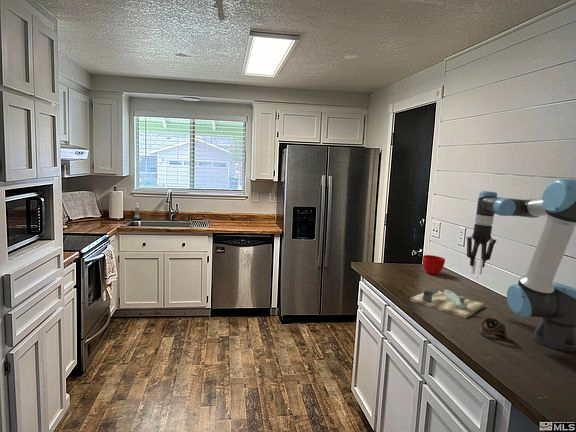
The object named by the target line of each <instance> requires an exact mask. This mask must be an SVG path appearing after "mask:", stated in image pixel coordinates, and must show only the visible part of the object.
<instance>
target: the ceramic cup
mask: <svg viewBox="0 0 576 432" xmlns="http://www.w3.org/2000/svg"><path fill="white" fill-rule="evenodd" d="M445 262H446V259H445V258H444V257H442V256H437V255H430V254H424V255H423V256H422V267H423V269H424V271H425V273H427V274H429V275H432V276H433V275H438V274H439V273H440V272H442V271H443V269H444V267H445Z"/></svg>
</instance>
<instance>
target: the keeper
mask: <svg viewBox="0 0 576 432" xmlns="http://www.w3.org/2000/svg"><path fill="white" fill-rule="evenodd" d="M438 291H440V290H439V289H438V288H434V287H431V288H428V289H427V290H424V291H423V292H424V295H423V301H426V302H431V301H432V295H434V294H436V293H438Z"/></svg>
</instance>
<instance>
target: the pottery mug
mask: <svg viewBox="0 0 576 432" xmlns="http://www.w3.org/2000/svg"><path fill="white" fill-rule="evenodd" d="M484 324H486V326H484ZM479 333H480V335H483V334H484V335H487V336H490V335H492V336H494V335H498V336H500V335H502V336H503V337H504V338H505V339H507V337H508V334H507V331H506V326H505V325H504V323H503V322H502V321H501V320H500V319H499V318H497V317H495V316H494V317H493V316H487V317H486V318H484V319H482V320H481V322H480V328H479Z"/></svg>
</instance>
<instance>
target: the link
mask: <svg viewBox="0 0 576 432" xmlns="http://www.w3.org/2000/svg"><path fill="white" fill-rule="evenodd" d="M443 292H444V295H445V296H446V297H447V298H448V299H449V300H450V301H451V302H452V303H453V304H454V305H455V307H457V308H460V309H467V305H468V304H467V303H465V302H464V303H461V302H460V298H459V296H458V294H456V293H455V292H454V291H451V290H448V289H444V291H443Z"/></svg>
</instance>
